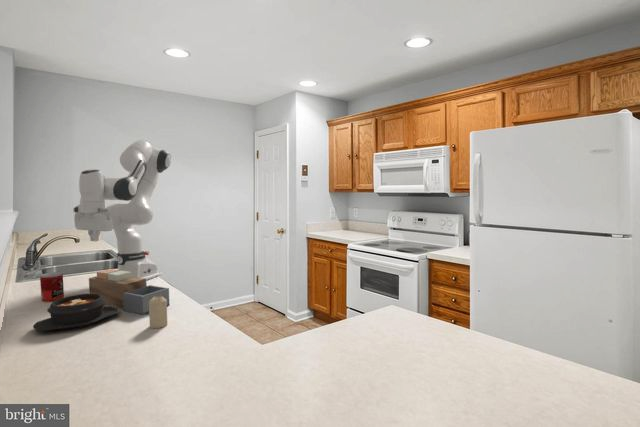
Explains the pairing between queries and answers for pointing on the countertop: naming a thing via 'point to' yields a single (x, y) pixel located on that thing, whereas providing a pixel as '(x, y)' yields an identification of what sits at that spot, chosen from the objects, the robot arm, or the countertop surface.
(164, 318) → the candle
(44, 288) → the canned food
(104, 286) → the brown wooden block
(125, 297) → the box
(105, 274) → the tile terracotta
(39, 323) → the casserole
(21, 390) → the countertop surface
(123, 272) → the tile sage
